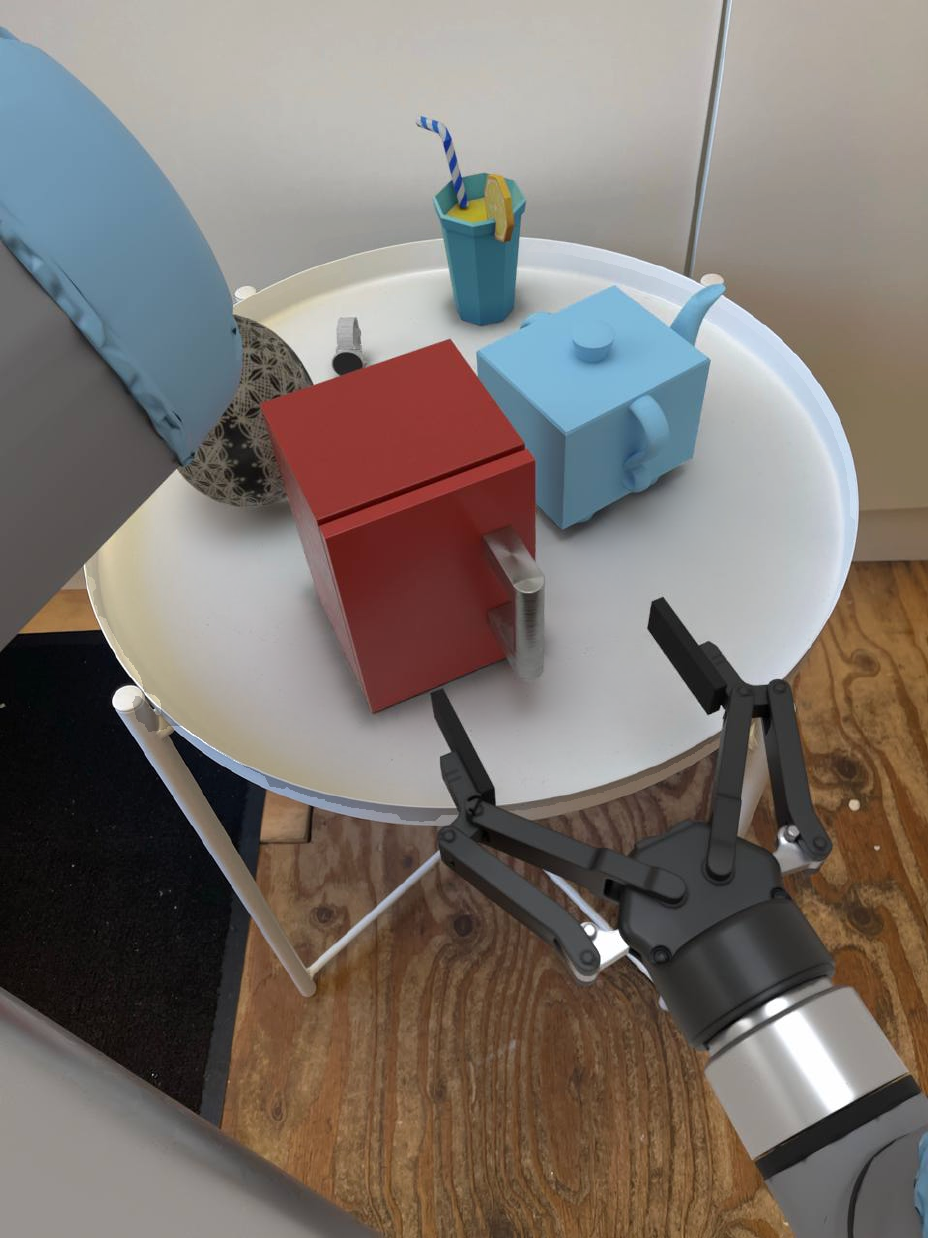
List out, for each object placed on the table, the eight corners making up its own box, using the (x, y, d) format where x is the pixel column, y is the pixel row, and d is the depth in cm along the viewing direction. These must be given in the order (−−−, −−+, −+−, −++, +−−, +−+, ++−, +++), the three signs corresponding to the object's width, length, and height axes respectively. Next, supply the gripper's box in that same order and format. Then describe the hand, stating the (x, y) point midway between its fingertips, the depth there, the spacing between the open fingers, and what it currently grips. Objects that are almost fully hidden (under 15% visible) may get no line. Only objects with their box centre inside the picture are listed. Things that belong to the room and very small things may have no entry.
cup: (400, 284, 90) (379, 125, 78) (466, 251, 93) (455, 91, 81) (492, 358, 84) (484, 196, 71) (560, 320, 86) (564, 157, 74)
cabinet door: (569, 701, 63) (580, 521, 49) (400, 774, 61) (358, 608, 46) (529, 634, 66) (527, 447, 52) (366, 701, 64) (318, 525, 50)
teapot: (583, 566, 70) (592, 435, 59) (464, 443, 78) (454, 308, 67) (769, 460, 75) (808, 321, 64) (640, 354, 83) (655, 216, 72)
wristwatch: (336, 391, 82) (326, 343, 78) (340, 353, 85) (330, 305, 81) (370, 389, 82) (361, 341, 78) (373, 351, 85) (365, 303, 81)
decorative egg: (197, 557, 72) (128, 405, 60) (181, 451, 79) (117, 295, 67) (349, 519, 74) (312, 363, 62) (321, 418, 80) (283, 259, 68)
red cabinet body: (527, 633, 67) (525, 442, 52) (366, 700, 64) (316, 520, 50) (467, 534, 72) (450, 337, 57) (316, 593, 70) (258, 402, 55)
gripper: (516, 1162, 43) (352, 775, 55) (967, 924, 48) (728, 615, 60) (514, 1138, 37) (329, 708, 49) (1030, 868, 42) (750, 536, 54)
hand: (548, 656), depth 54 cm, fingers open, 13 cm apart
